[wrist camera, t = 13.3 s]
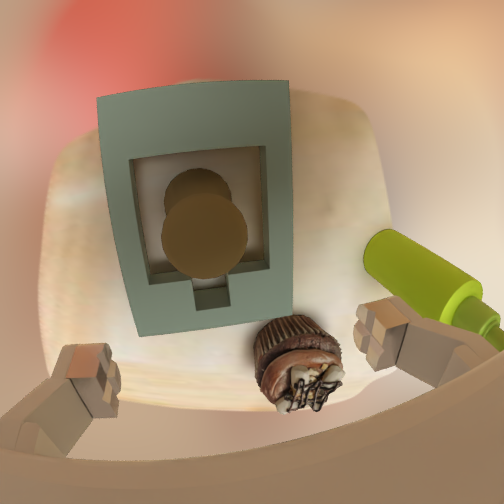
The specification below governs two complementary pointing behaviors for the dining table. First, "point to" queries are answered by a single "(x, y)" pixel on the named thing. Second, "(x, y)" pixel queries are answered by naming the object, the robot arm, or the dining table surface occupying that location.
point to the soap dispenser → (431, 285)
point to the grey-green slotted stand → (194, 139)
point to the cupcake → (297, 363)
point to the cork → (202, 225)
